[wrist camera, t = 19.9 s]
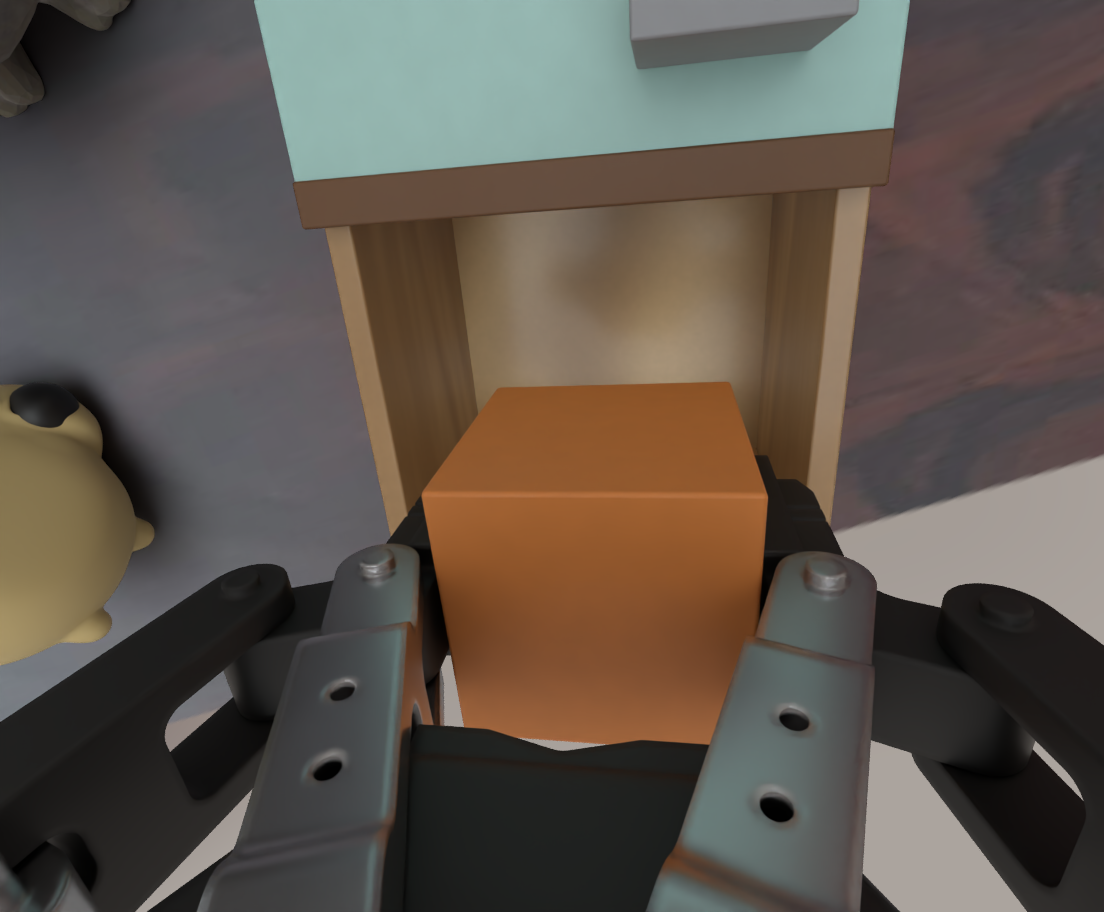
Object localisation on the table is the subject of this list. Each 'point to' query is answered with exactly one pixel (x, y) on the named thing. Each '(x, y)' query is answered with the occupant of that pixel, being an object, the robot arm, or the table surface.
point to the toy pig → (58, 523)
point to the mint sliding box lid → (577, 102)
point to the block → (599, 560)
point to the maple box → (606, 319)
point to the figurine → (3, 66)
